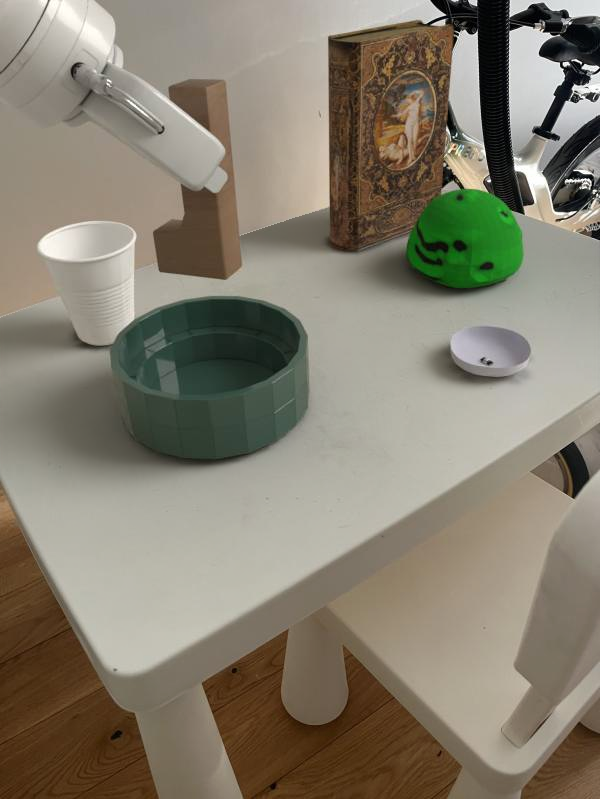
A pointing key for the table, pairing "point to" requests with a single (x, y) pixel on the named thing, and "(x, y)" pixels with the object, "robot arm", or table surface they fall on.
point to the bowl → (211, 376)
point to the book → (386, 128)
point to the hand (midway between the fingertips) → (202, 172)
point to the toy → (466, 240)
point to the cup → (93, 276)
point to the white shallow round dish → (490, 351)
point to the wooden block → (203, 197)
